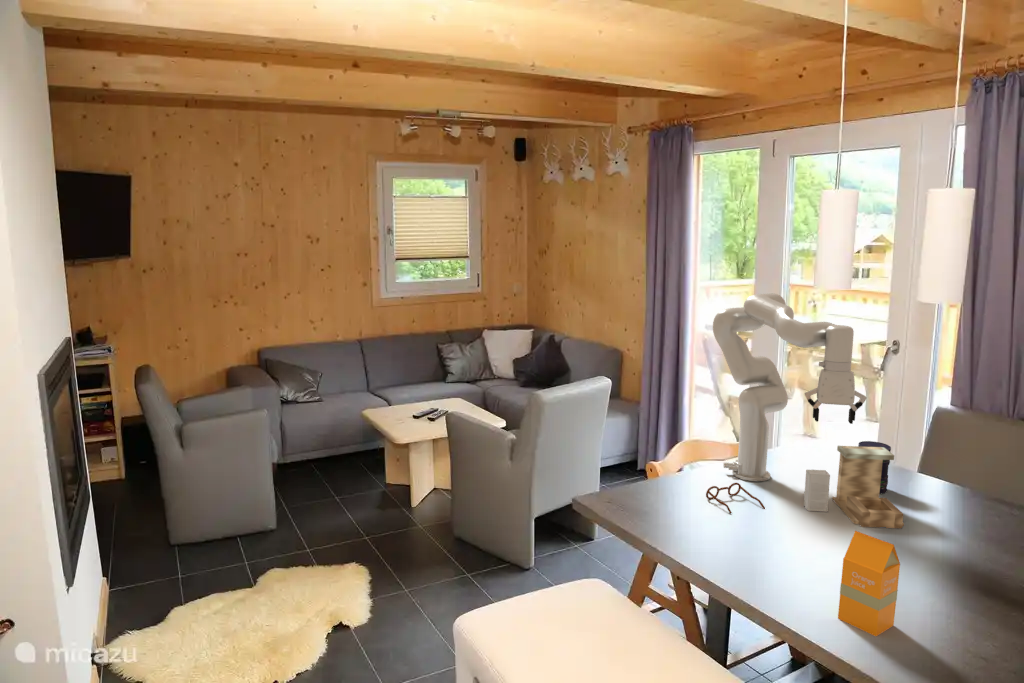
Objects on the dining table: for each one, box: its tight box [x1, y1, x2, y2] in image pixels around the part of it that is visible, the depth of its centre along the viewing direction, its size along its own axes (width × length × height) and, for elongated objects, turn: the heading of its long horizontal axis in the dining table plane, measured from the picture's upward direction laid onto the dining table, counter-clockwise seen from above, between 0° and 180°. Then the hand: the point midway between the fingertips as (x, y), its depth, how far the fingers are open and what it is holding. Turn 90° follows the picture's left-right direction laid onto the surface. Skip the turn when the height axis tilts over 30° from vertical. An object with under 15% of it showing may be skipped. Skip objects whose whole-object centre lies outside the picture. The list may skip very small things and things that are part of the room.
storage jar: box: [857, 440, 892, 495], centre depth 241 cm, size 10×10×15 cm
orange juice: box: [837, 530, 901, 637], centre depth 160 cm, size 8×9×20 cm
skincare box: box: [803, 469, 831, 513], centre depth 224 cm, size 6×4×12 cm
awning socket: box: [831, 445, 905, 529], centre depth 220 cm, size 14×21×18 cm
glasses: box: [705, 482, 766, 514], centre depth 227 cm, size 13×13×5 cm
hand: (833, 421), depth 222 cm, fingers open, 9 cm apart
